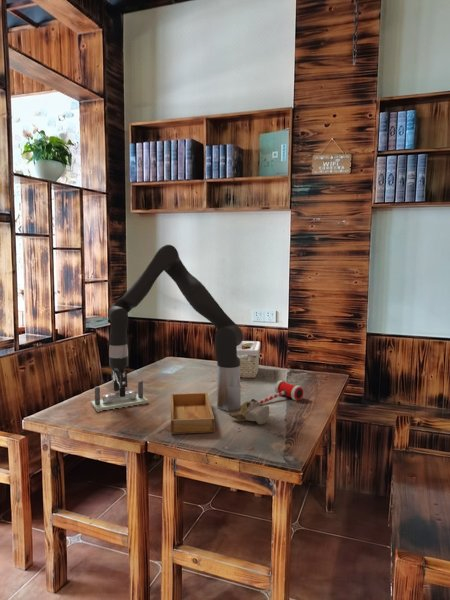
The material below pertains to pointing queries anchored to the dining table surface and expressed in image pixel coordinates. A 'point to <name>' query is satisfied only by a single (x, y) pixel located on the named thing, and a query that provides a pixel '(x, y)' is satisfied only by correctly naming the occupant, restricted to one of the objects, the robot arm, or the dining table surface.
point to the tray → (191, 413)
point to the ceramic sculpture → (252, 412)
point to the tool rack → (100, 406)
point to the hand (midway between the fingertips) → (119, 393)
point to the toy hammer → (286, 391)
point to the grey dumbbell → (118, 397)
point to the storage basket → (249, 358)
